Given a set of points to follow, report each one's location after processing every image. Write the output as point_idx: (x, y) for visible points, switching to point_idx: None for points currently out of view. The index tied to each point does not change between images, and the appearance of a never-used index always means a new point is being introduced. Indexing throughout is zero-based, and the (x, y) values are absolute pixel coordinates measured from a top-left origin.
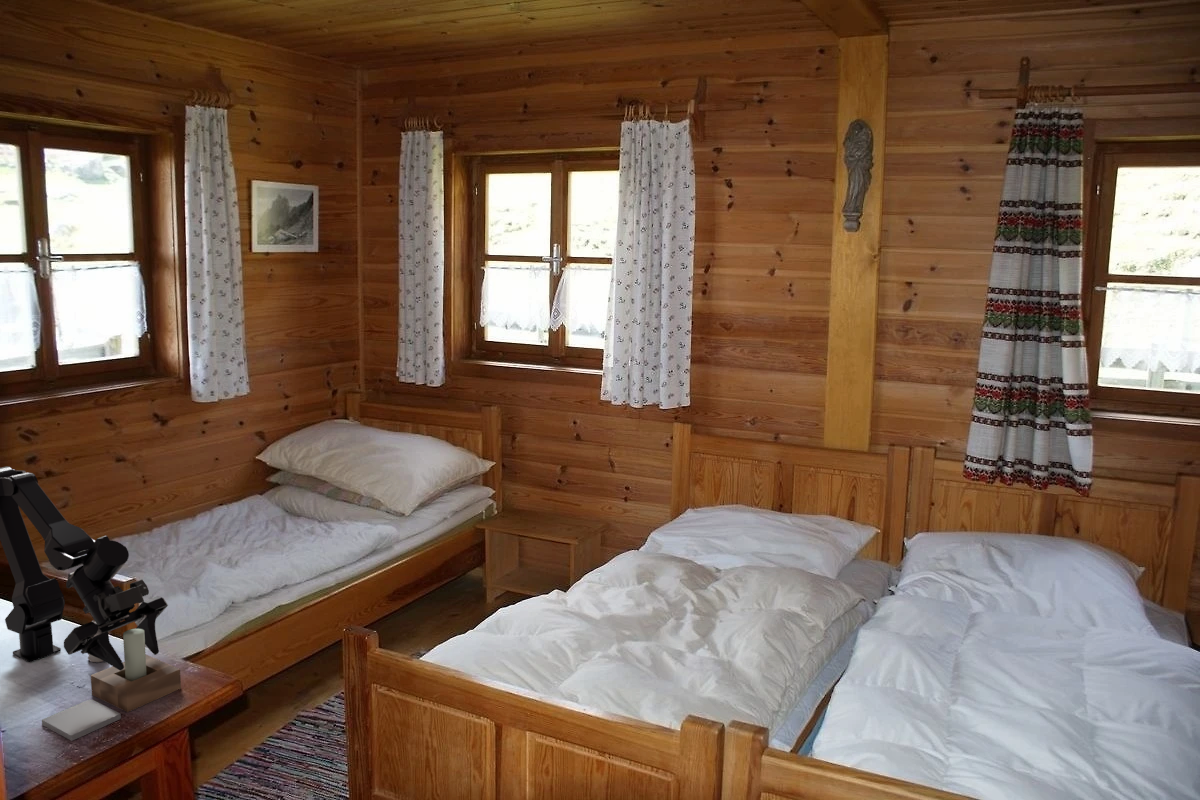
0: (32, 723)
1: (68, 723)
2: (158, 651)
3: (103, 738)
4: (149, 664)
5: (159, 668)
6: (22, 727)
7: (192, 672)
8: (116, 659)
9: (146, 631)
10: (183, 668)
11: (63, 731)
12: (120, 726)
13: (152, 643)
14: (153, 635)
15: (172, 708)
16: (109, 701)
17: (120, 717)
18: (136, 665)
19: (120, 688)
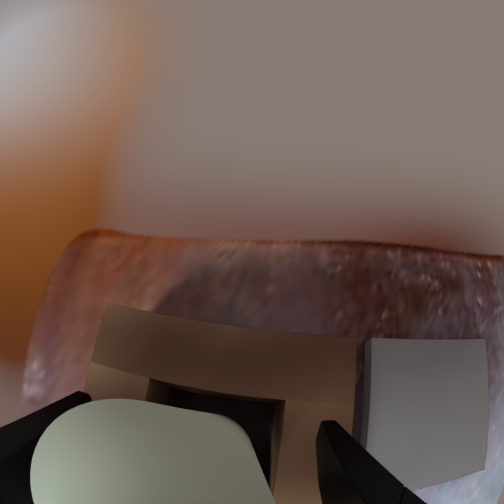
0: (476, 490)
1: (469, 402)
2: (80, 391)
3: (434, 294)
4: None
5: (130, 385)
6: (492, 485)
7: (47, 366)
8: (367, 453)
9: (6, 494)
10: (38, 408)
11: (487, 373)
12: (386, 308)
13: None
14: (11, 436)
15: (243, 264)
16: None
17: (367, 341)
18: (231, 422)
19: (351, 385)
